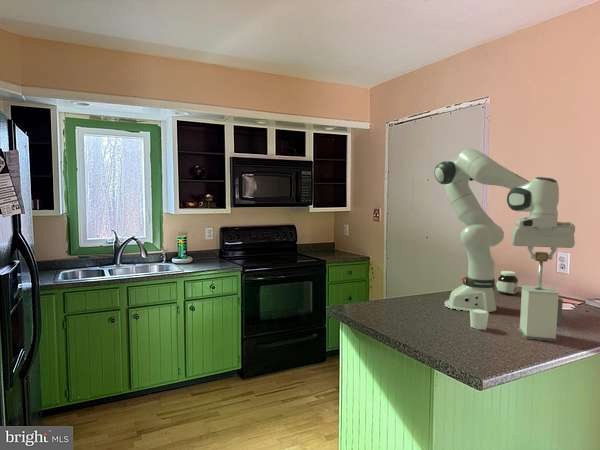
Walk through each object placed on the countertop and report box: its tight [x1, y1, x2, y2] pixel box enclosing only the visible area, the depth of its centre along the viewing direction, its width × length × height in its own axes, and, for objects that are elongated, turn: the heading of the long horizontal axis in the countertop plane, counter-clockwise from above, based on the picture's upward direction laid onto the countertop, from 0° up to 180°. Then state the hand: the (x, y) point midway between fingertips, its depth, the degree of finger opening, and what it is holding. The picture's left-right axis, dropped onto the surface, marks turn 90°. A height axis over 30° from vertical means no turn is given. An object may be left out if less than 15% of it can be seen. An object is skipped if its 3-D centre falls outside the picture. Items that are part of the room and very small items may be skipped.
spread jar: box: [495, 270, 519, 296], centre depth 221 cm, size 12×11×12 cm
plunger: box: [534, 251, 549, 290], centre depth 154 cm, size 7×7×20 cm
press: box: [518, 284, 564, 343], centre depth 154 cm, size 13×10×18 cm
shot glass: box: [469, 309, 490, 330], centre depth 163 cm, size 7×7×7 cm
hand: (541, 259), depth 153 cm, fingers closed on plunger, 4 cm apart
